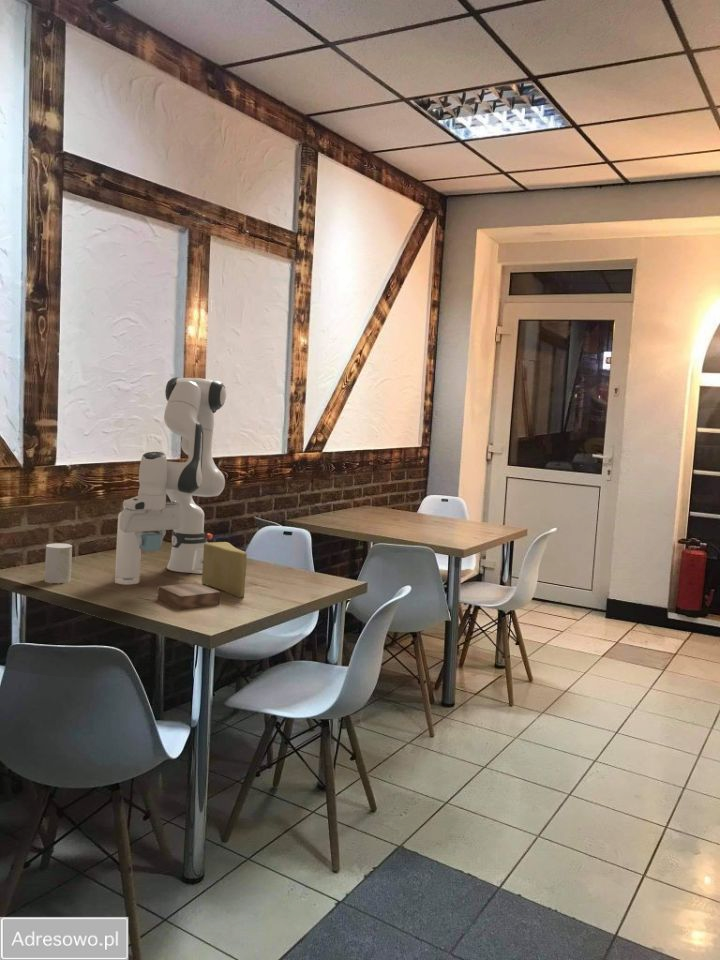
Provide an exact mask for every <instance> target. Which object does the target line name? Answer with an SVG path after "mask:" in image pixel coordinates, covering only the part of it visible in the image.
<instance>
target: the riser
mask: <svg viewBox="0 0 720 960" xmlns="http://www.w3.org/2000/svg"><path fill="white" fill-rule="evenodd" d="M157 600H159V601H161V602H163V603H165V604H168V605H170V606H172V607H174V608H177V609H179V610H186V609H194V608H200V607H201V608H202V607H207V606H216V605H220V600H221V591H219V590H218V589H215V588H213V587H212V588H211V587H210V586H208V585H205V584H203V583H199V582H189V583H179V584H178V583H177V584H170V585H161V586H160V585H159V586H158V588H157Z"/></svg>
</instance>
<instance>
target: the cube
mask: <svg viewBox="0 0 720 960" xmlns="http://www.w3.org/2000/svg"><path fill="white" fill-rule="evenodd" d="M140 536H141V538H142V539H143V540H144V545H139V549H141V551H142V550H143V551H144V552H155V551H156V552H157V551H161V549H162V547H161V545H162V544H161V535H160V533H157V532H155V531H150V532H142V535H140Z"/></svg>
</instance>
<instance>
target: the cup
mask: <svg viewBox="0 0 720 960" xmlns="http://www.w3.org/2000/svg"><path fill="white" fill-rule="evenodd" d="M72 553H73V545H72V544H70V543H57V542H55V543H47V544H46V545H45V559H44V560H45V561H44V562H45V563H44V582H45V583H46V582H47V584H52V583H58V584H59V583H63V584H67V582H68V583H70V582H71V581H72V579H71V578H72V577H71V576H72V575H71V574H72V560H73V559H72V558H73V557H72V555H73V554H72ZM58 584H57V585H58ZM59 585H60V584H59Z"/></svg>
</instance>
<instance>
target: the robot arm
mask: <svg viewBox="0 0 720 960" xmlns="http://www.w3.org/2000/svg"><path fill="white" fill-rule="evenodd" d="M164 392H165V394H164V395H165V399H166V401H167V403H166V407H165V409H164V415H163V416H164V418H163V419H164V422H165V425H166V426H167V428H168V429H169V430H170V431H171V432H173V433H174V434H176V435H177V436H179V437H181V442H180V446H181V450H182V451H183V452H184V454H185V455H187V456H188V458H187V461H185V462H177V461H170V460H168V459H167V456H166V455H167V454H166V453H163V452H161V451H149V452H145V453H144V454H142V456H141V458H140V462H139V463H140V464H139V470H138V471H139V472H138V481H139V482H138V483H139V489H138V492H137V495H136V496H134V497H131V498H128V499H124V500H125V501H124V500H123V502H122V507H123V509H122V510H121V517H120V529H121V531H123V532H125V533H130V532H135V536H136V538H137V539H138V545H144V540H143V539H142V538H141V536H140V535H142V533H146V532H155V531H156V532H157V531H158V532H159V534H160V535H161V545H162V544H163V539H164V537H165V535H167V534H166V533H167V531H170V530H172V532H171V533H172V534H171V551H170V556H169V560H168V563H167V567H166V569H167V570H169V571H173V572H178V573H188V574H189V573H191V574H202V570H203V554H204V544H205V543H209V541H208V540H212V539H213V536H214V535H213V534H212V533H206V532H205V531H204V530H205V529H204V527H205V512H204V509H202V508H201V506H199V505H197V504H196V503H195V501H194V499H193V496H195V497H196V496H197V497H203V498H208V497H209V498H211V497H218V496H220V495H221V493H222V492H223V490H224V489H225V486H226V479H225V475H224V473H223V472H222V471H221V470H220V469H219V468H218V466H217V465H216V464H215V461H214V457H213V454H212V444H213V443H212V442H213V434H214V421H215V420H214V419H215V417H214V416H215V415H214V414H215V413H217V411H219V410H220V409H221V408H223V406H224V404H225V403H226V398H227V390H226V386H225V385H224V383H223V382H221V381H219V380H214V379H213V380H211V379H206V378H201V377H196V378H195V377H179V376H177V377H176V376H175V377H172V378H170V379H169V380H168V381H167V383H166V385H165V390H164ZM167 496H168V498H169V500H170V501H167ZM124 507H125V509H124Z"/></svg>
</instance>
